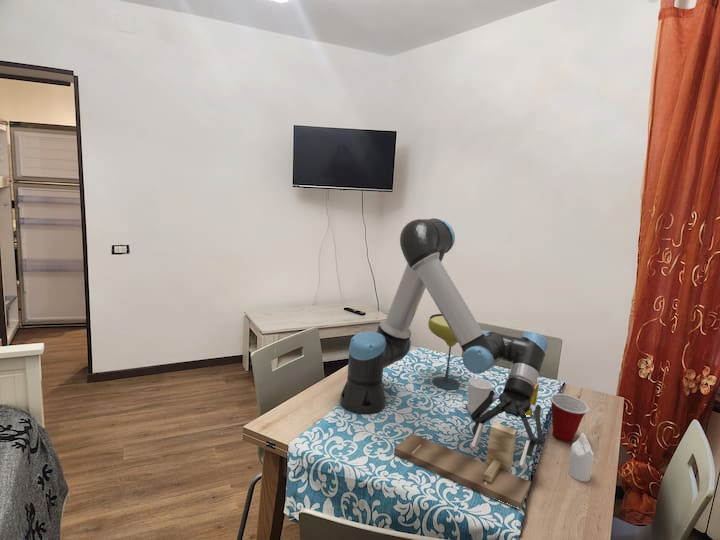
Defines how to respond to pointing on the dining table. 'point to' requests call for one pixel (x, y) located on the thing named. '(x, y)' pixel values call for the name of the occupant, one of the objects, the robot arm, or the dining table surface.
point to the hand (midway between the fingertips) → (496, 457)
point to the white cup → (477, 393)
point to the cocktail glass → (445, 333)
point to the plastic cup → (566, 416)
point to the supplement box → (533, 399)
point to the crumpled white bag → (581, 459)
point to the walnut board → (463, 469)
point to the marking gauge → (500, 450)
